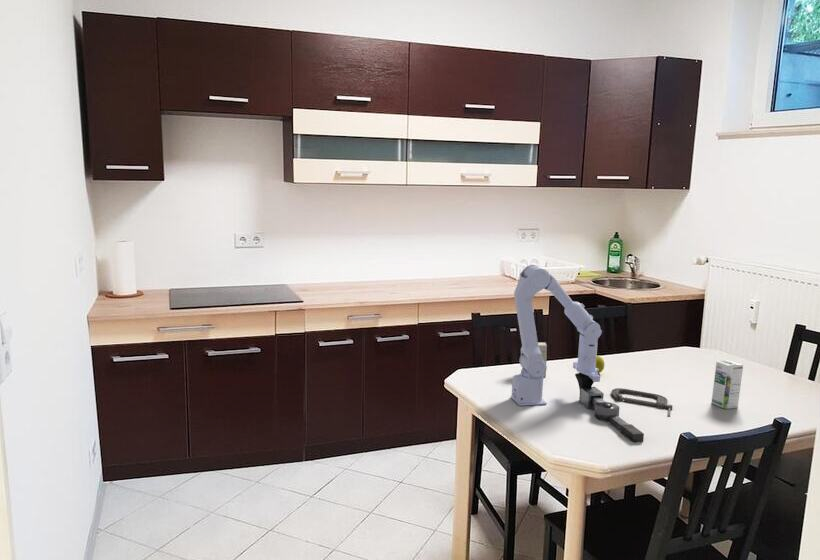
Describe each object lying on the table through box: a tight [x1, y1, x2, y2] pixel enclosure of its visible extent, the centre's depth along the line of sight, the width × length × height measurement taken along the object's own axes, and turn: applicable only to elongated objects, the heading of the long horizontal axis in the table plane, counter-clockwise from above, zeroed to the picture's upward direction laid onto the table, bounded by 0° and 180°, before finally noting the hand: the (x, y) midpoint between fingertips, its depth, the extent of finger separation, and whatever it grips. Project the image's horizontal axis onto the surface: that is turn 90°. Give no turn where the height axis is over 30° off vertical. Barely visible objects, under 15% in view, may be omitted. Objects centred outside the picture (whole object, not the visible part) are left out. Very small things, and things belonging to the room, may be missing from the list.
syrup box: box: [710, 359, 744, 410], centre depth 190 cm, size 6×6×14 cm
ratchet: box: [590, 396, 645, 443], centre depth 175 cm, size 25×7×4 cm, turn 11°
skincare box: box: [538, 341, 548, 378], centre depth 216 cm, size 6×4×12 cm
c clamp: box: [611, 387, 674, 418], centre depth 193 cm, size 20×17×3 cm
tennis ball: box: [596, 355, 605, 374], centre depth 221 cm, size 7×7×7 cm
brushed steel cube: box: [578, 386, 605, 410], centre depth 189 cm, size 6×5×5 cm
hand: (584, 395), depth 193 cm, fingers closed
